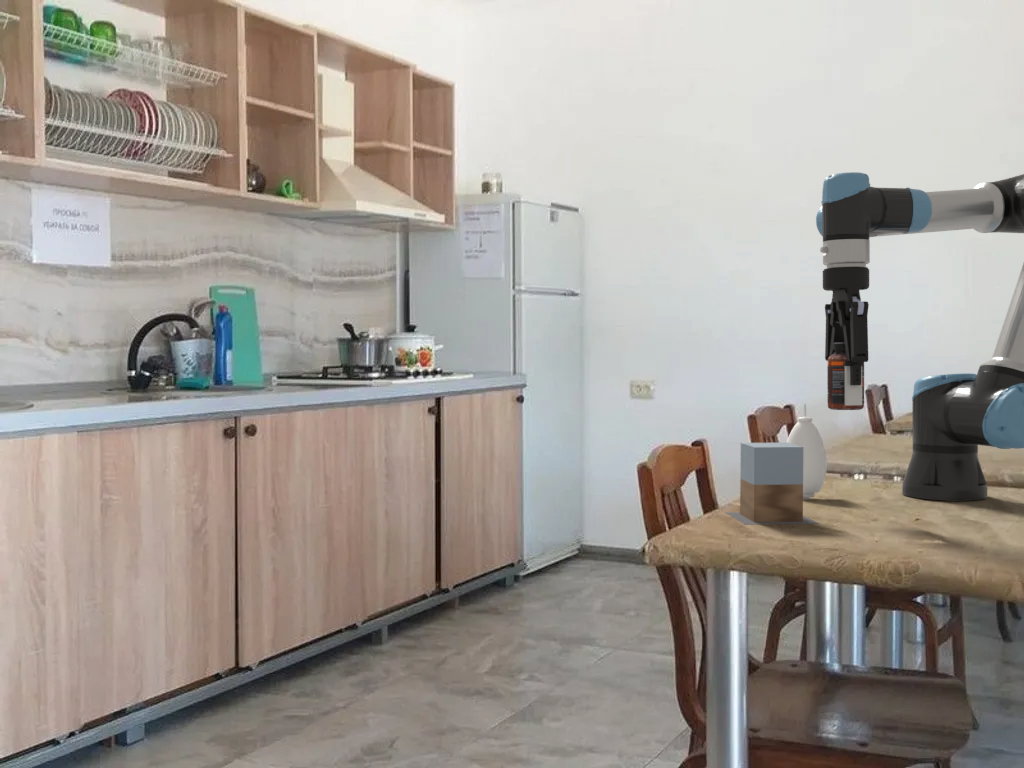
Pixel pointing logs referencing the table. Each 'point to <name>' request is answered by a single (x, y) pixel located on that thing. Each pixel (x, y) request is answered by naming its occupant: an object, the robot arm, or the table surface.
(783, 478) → the slate block
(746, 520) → the rubber mat
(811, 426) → the sauce bottle
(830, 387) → the supplement bottle
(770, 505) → the walnut block
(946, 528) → the table surface
